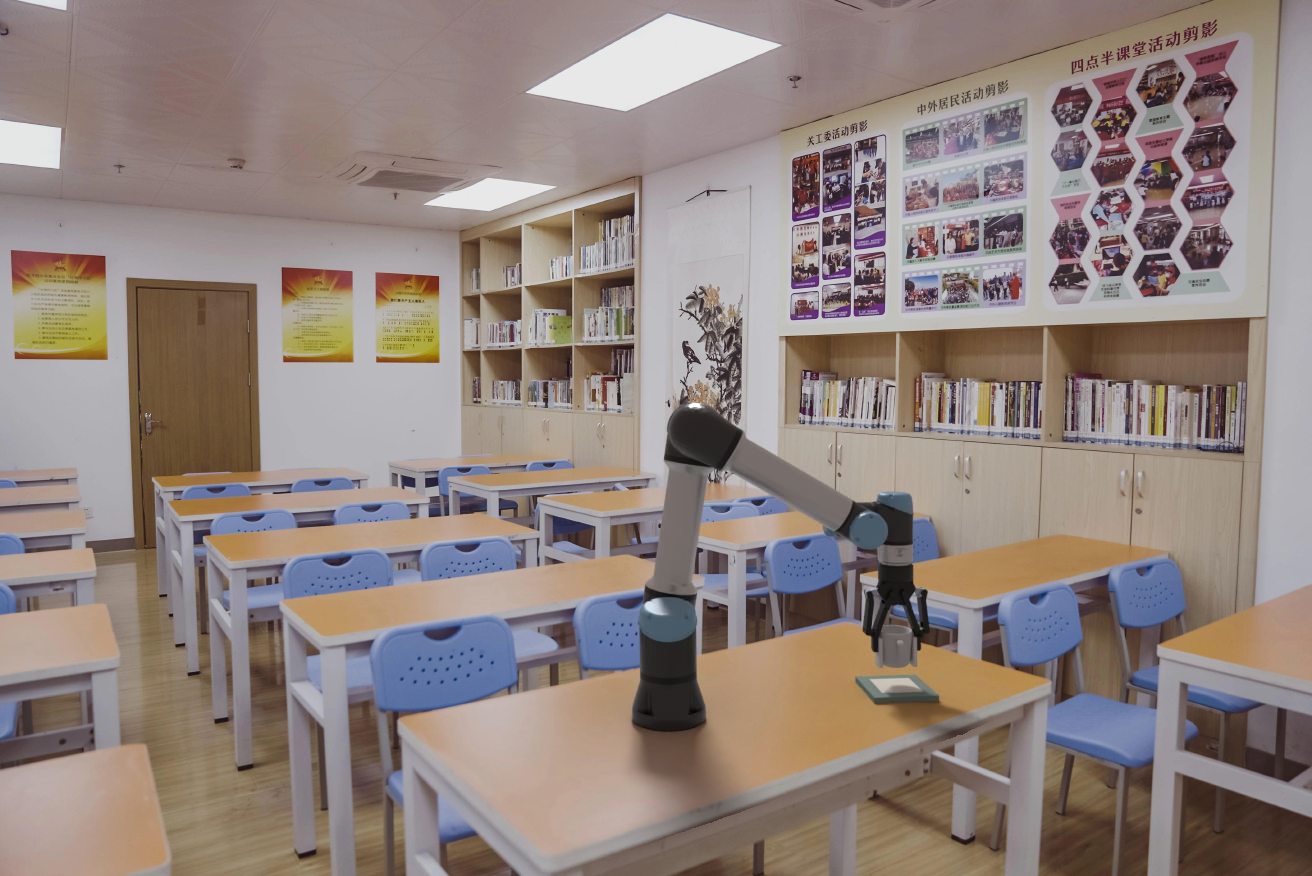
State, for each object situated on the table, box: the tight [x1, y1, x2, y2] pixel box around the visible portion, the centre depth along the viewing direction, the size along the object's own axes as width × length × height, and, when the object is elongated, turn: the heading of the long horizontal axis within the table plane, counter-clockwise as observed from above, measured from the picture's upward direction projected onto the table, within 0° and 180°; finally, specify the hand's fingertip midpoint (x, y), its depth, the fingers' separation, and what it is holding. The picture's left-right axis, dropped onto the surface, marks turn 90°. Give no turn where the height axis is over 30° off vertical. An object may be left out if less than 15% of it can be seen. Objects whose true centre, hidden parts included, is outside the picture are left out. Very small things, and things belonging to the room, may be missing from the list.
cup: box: [879, 624, 913, 669], centre depth 189 cm, size 11×8×8 cm
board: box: [855, 674, 940, 704], centre depth 189 cm, size 14×14×1 cm
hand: (896, 665), depth 189 cm, fingers closed on cup, 7 cm apart
